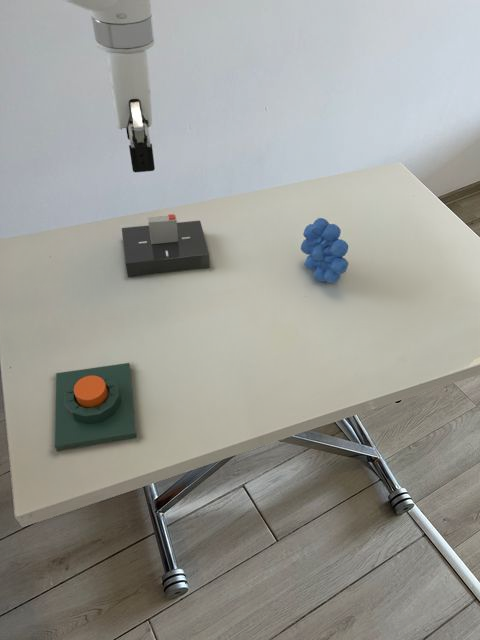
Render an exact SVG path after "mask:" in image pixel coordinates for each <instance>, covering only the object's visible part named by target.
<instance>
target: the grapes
mask: <svg viewBox="0 0 480 640" xmlns="http://www.w3.org/2000/svg"><path fill="white" fill-rule="evenodd" d="M341 232H342V230H341V228H340V227H339V226H338V225H337V224H336V223H330V222H329V221H328V220H327V219H326V218H323V217H318V218H316V219H315V220H314V221H313V223H311V224H308V225H306V226H305V228H304V229H303V237H304V238H305V239H304V240H302V243H301V245H300V250H301V252H302V253H303V254H304V255H307V257H306V258H305V261H304V267H305V268H306V269H308V270H310V271H314V272H313V278H314V279H315V280H316V281H318V282H322V283H323V282H327V283H329V284H336V283H338V281H339V280H340V278H341V275H342V274H344V273H346V271H347V270H348V268H349V261H348V259H347V258H345V256H346V255H347V253H348V251H349V244H348V243H347V241H346V240H343V239H340V237H341V234H342V233H341Z"/></svg>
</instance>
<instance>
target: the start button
mask: <svg viewBox="0 0 480 640" xmlns="http://www.w3.org/2000/svg"><path fill="white" fill-rule="evenodd" d="M74 394H75V396H76V399H77V401H78V403H79V404H80V405H81V406H84V407H88V408H91V407H96V406H99V405H100V404H102V403H103V402H104V401H105V400H106V398H107V395H108V391H107V388H106V384H105V381H104V380H103V379H102V378H100V377H98V376H86V377H83V378H82V379H80V380H79V381H78V382H77V383H76V384H75V386H74Z"/></svg>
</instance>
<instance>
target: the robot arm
mask: <svg viewBox="0 0 480 640" xmlns="http://www.w3.org/2000/svg"><path fill="white" fill-rule="evenodd" d="M63 1H64V2H67V3H68V4H72V5H74V6H77V7H79V8H82V9H85V10H87V11H89V12H90V15H91V22H92V28H93V33H94V40H95V45H96V47H97V48H99V49H100V50H102V51H105V61H106V69H107V74H108V81H109V86H110V92H111V97H112V98H111V99H112V105H113V110H114V115H115V121H116V127H117V128H118V129H119V130H123V129H126V136H127V139H128V140H129V143H130V144H129V145H128V149H129V155H130V163H131V170H132V172H133V173H146V172H154V171H155V169H156V167H155V159H154V149H153V143H151V138H150V132H149V128H150V127H151V126H152V125H153V116H152V115H153V114H152V97H151V83H150V74H149V63H148V55H147V50H149V49H151V48H152V47H153V46H154V45H155V34H154V33H155V32H154V25H153V15H152V6H151V5H152V3H151V0H63Z"/></svg>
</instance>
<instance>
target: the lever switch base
mask: <svg viewBox="0 0 480 640" xmlns="http://www.w3.org/2000/svg"><path fill="white" fill-rule="evenodd" d="M203 229H204V228H203V225H202V221H201V220H200V219H199V220H190V221H181V222H177V232H178V242H170V243H160V244H151V237H150V230H149V224H148V225H140V226H139V225H137V226H129V227H128V226H127V227H121V236H122V244H123V245H122V247H123V254H124V263H125V270H126V276H127V277H128V278H133V277H141V276H142V277H144V276H152V275H158V274H159V275H160V274H168V273H177V272H185V271H194V270H203V269H210V268H211V264H210V263H211V261H210V252H209V248H208V244H207V241H206V237H205V236H206V235H205V233H204V230H203Z"/></svg>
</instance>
